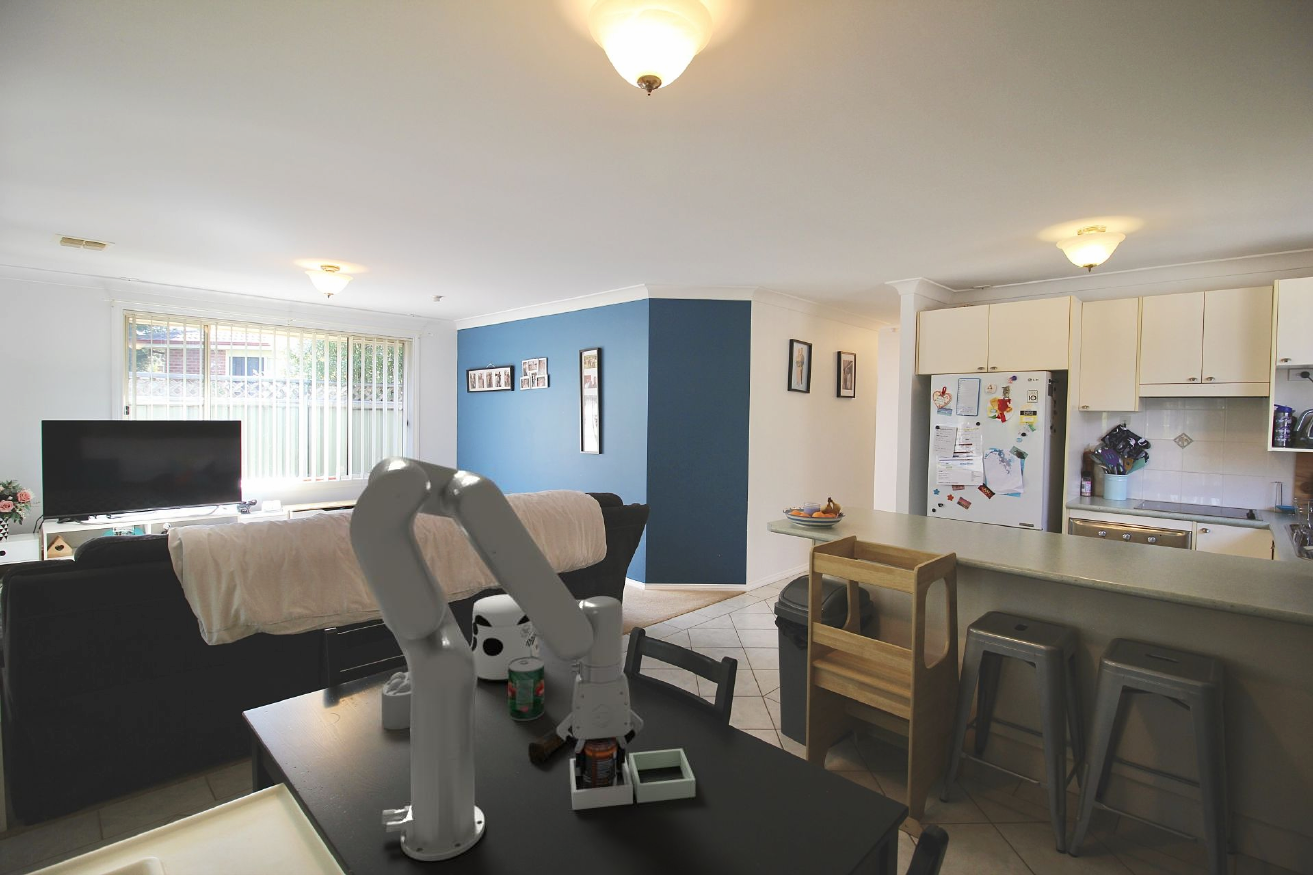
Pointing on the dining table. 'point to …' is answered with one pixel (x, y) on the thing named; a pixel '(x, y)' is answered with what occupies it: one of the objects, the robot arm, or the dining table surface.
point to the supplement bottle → (600, 763)
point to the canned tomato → (526, 688)
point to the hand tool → (546, 745)
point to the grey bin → (601, 791)
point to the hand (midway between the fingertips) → (600, 767)
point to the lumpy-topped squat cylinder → (397, 702)
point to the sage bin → (662, 788)
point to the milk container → (500, 636)
